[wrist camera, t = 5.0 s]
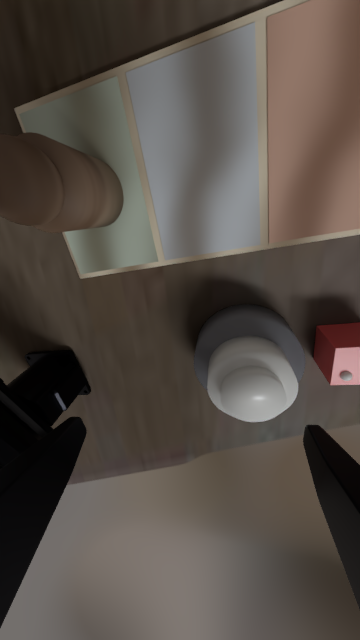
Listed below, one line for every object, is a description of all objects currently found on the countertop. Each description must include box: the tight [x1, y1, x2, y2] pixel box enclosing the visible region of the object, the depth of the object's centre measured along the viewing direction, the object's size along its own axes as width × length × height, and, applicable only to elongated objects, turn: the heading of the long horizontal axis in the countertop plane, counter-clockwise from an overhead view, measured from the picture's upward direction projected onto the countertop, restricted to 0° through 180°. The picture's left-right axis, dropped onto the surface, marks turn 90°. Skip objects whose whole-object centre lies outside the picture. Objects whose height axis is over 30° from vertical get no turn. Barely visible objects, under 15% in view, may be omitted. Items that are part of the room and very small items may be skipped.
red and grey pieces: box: [194, 304, 360, 391], centre depth 18 cm, size 14×9×4 cm, turn 101°
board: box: [14, 0, 360, 279], centre depth 15 cm, size 24×12×1 cm, turn 101°
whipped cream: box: [207, 336, 298, 422], centre depth 16 cm, size 6×6×3 cm
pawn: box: [0, 132, 124, 233], centre depth 12 cm, size 4×4×9 cm
